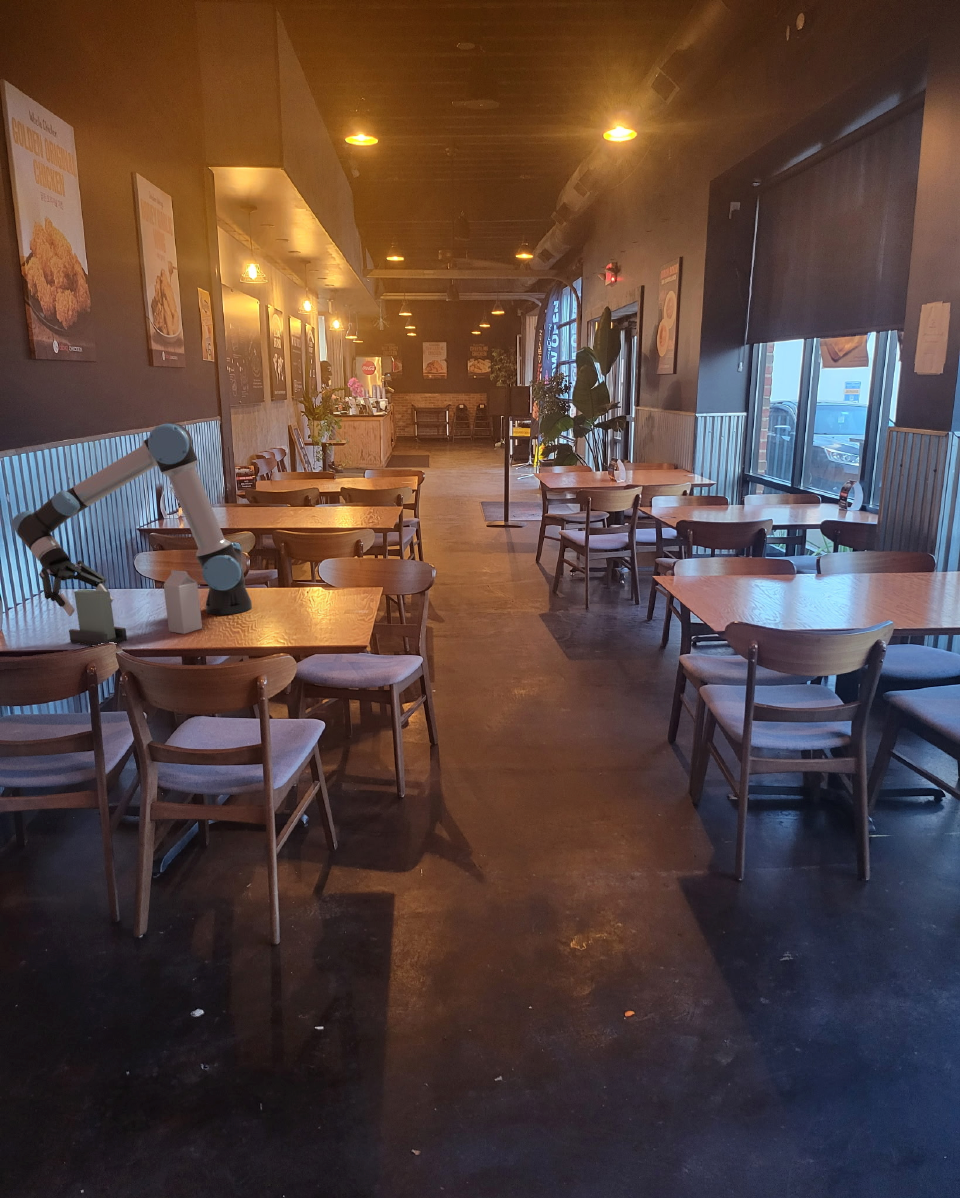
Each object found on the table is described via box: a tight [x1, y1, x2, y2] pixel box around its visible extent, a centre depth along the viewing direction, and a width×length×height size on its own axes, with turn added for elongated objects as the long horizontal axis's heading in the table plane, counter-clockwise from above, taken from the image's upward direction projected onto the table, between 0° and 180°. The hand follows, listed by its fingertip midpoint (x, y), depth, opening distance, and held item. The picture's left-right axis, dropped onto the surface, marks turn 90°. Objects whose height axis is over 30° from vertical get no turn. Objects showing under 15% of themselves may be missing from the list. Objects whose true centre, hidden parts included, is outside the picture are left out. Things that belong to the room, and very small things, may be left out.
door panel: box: [73, 588, 116, 640], centre depth 253 cm, size 11×4×14 cm, turn 63°
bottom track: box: [68, 626, 128, 647], centre depth 255 cm, size 15×8×4 cm, turn 63°
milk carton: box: [163, 569, 203, 635], centre depth 263 cm, size 7×7×19 cm
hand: (92, 607), depth 253 cm, fingers open, 13 cm apart
